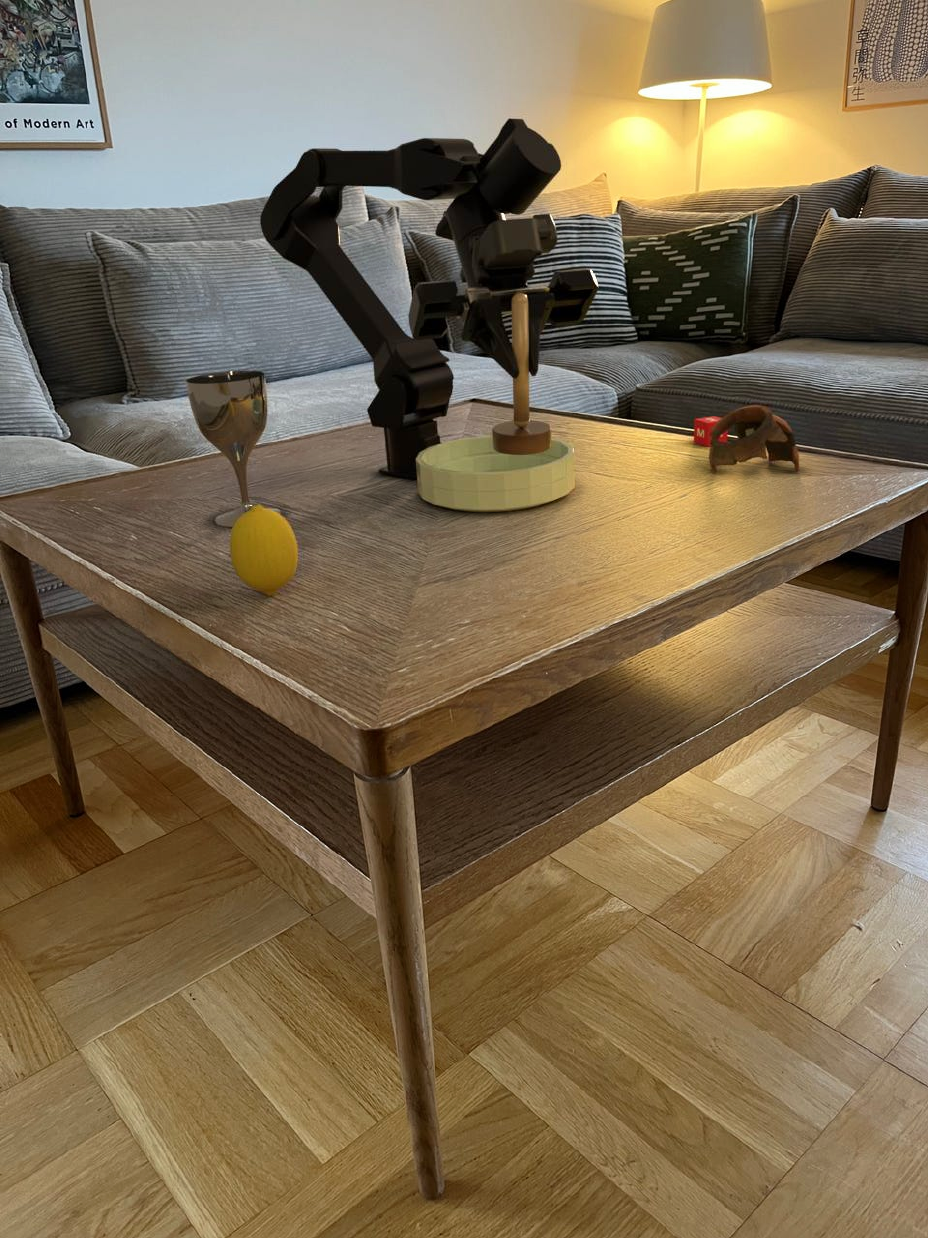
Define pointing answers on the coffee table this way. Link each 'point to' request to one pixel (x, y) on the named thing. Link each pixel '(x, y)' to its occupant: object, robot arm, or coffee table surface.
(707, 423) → the dice
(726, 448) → the brown arched hollow part
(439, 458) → the bowl
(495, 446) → the stirring stick
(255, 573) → the lemon
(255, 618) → the coffee table surface
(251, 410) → the wine glass
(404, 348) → the robot arm
